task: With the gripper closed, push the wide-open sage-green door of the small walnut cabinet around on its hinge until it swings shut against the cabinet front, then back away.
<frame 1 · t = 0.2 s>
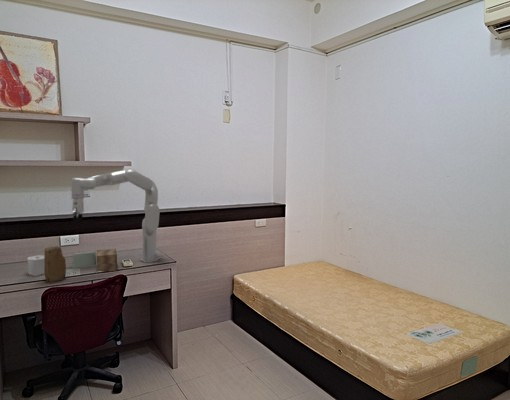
hand: (77, 222, 249), 30 cm above the table, fingers open, 9 cm apart
door: (84, 258, 249), point 6 cm above the table, hinge at 80.0°
block: (55, 280, 225), on the table
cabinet: (106, 268, 249), on the table
toilet tissue: (38, 273, 235), on the table
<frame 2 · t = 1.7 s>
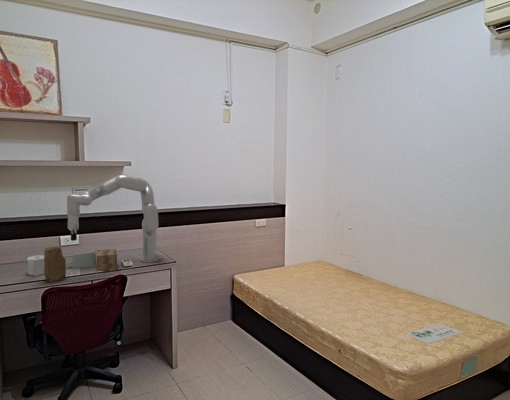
hand: (73, 240, 249), 18 cm above the table, fingers closed
nothing on the table moved.
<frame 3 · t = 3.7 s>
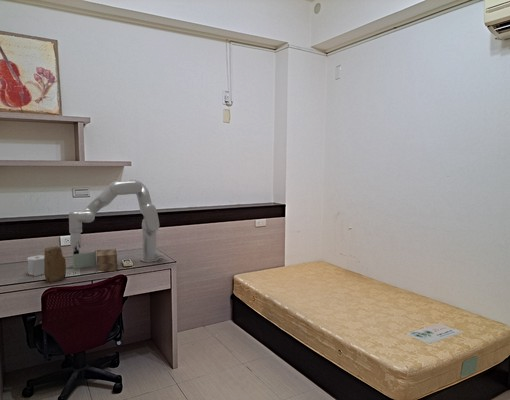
hand: (76, 257, 247), 7 cm above the table, fingers closed
door: (84, 259, 248), point 6 cm above the table, hinge at 75.9°, touching gripper
everything else where it was.
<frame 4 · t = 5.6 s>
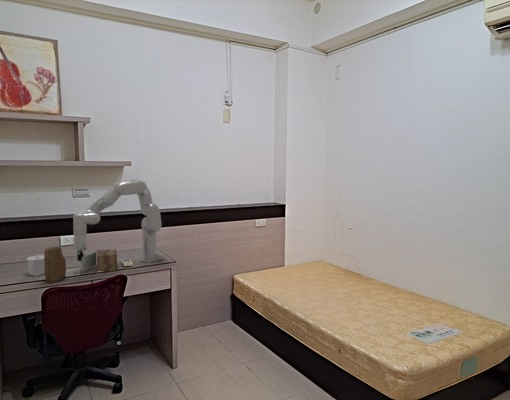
hand: (80, 260, 240), 7 cm above the table, fingers closed
door: (88, 260, 245), point 6 cm above the table, hinge at 32.8°, touching gripper
everything else where it was.
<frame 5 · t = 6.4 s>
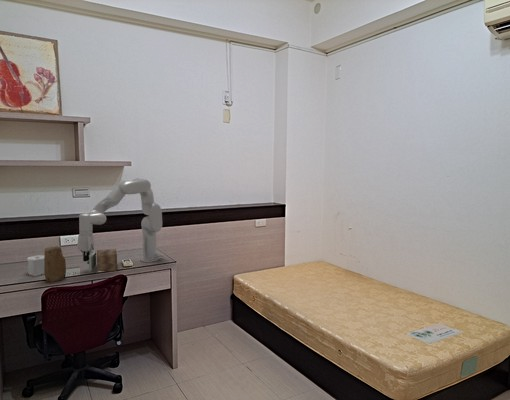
hand: (86, 260, 239), 7 cm above the table, fingers closed
door: (91, 260, 245), point 6 cm above the table, hinge at 12.6°, touching gripper
everything else where it was.
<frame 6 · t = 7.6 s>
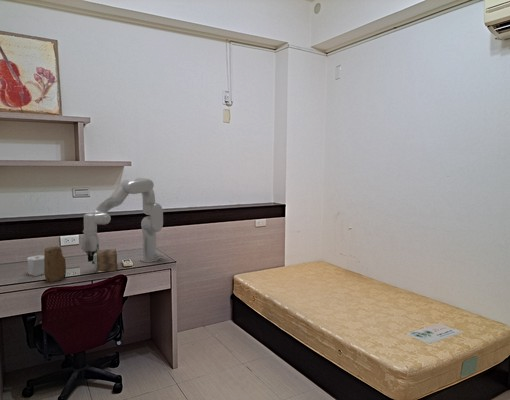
hand: (90, 261, 239), 7 cm above the table, fingers closed
door: (94, 260, 245), point 6 cm above the table, hinge at -0.6°, touching gripper
everything else where it was.
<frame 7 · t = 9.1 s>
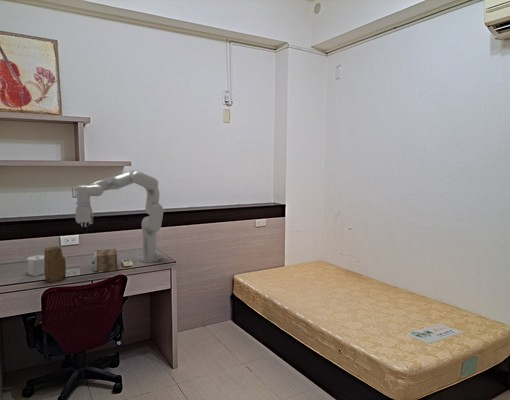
hand: (85, 232, 242), 25 cm above the table, fingers closed
door: (94, 260, 245), point 6 cm above the table, hinge at -0.6°
everything else where it was.
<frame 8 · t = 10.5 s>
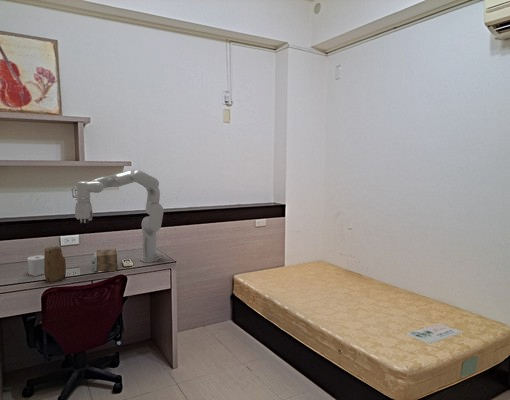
hand: (84, 228, 242), 27 cm above the table, fingers closed
nothing on the table moved.
at the end: door at -1° (first picture: +80°); door touching nothing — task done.
